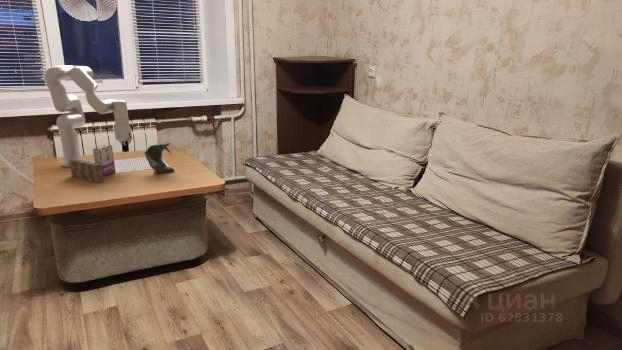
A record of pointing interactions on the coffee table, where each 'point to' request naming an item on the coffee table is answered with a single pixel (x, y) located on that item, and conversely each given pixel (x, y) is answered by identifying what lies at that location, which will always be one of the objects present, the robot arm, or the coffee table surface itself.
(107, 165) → the candy bar box
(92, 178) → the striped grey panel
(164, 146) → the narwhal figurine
